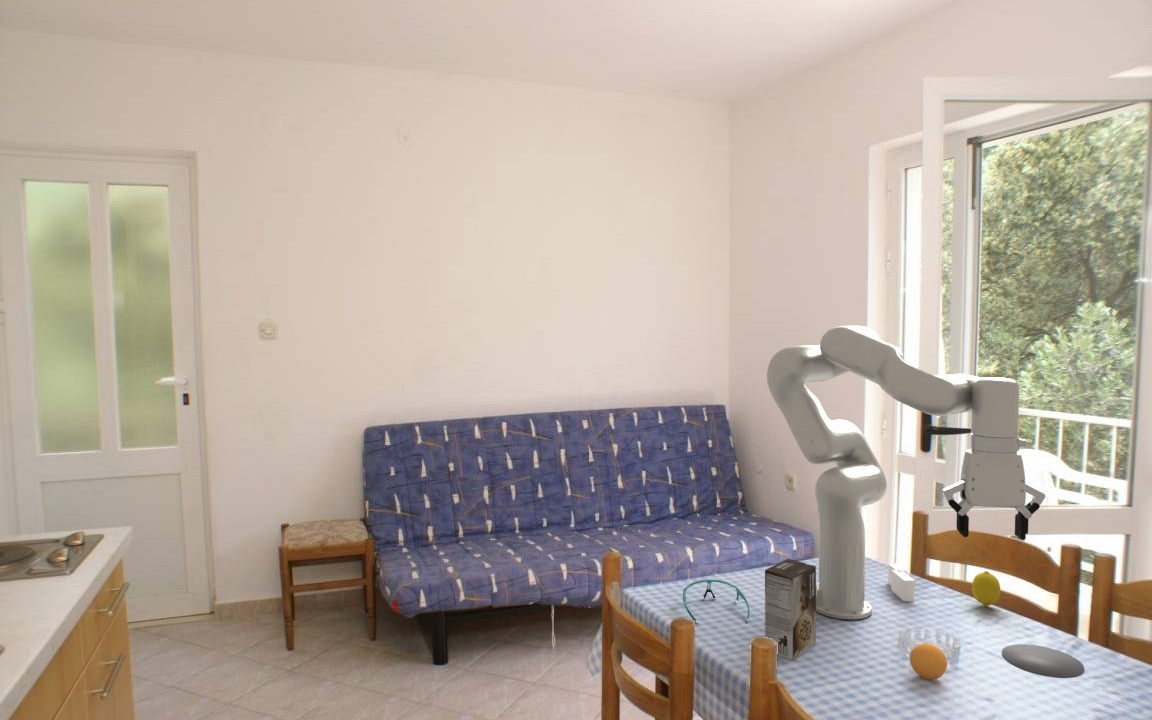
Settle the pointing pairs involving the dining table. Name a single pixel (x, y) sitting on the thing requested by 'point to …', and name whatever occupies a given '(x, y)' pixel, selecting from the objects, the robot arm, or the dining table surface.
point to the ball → (928, 661)
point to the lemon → (986, 588)
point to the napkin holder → (901, 582)
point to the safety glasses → (712, 593)
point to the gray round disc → (1043, 660)
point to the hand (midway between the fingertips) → (991, 536)
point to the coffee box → (791, 607)
